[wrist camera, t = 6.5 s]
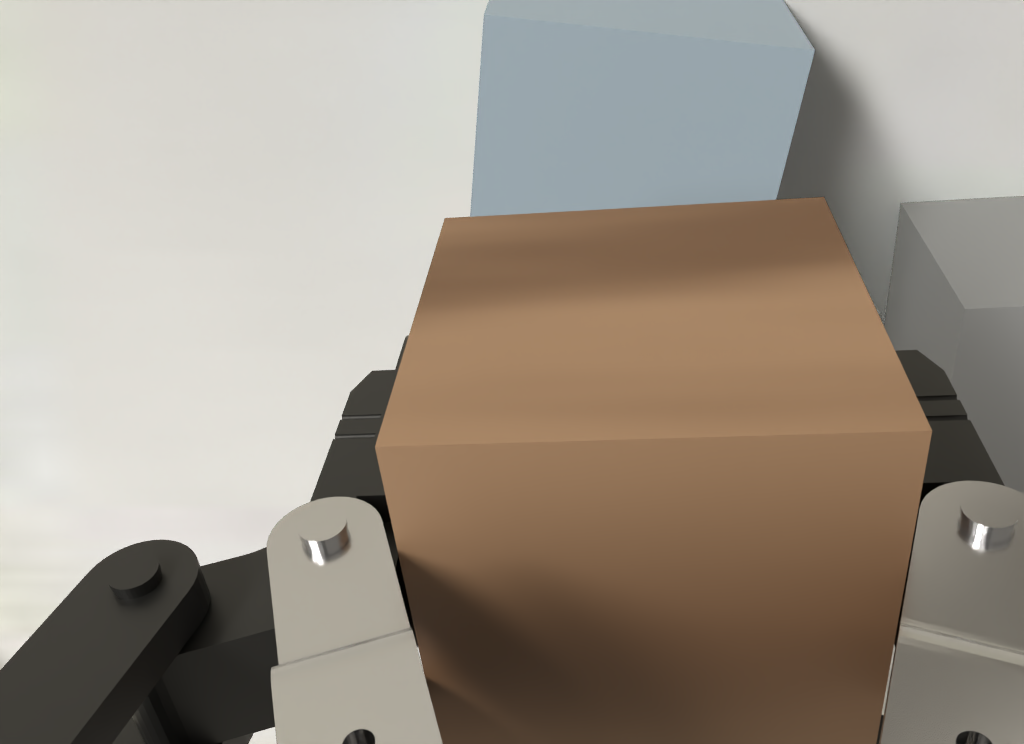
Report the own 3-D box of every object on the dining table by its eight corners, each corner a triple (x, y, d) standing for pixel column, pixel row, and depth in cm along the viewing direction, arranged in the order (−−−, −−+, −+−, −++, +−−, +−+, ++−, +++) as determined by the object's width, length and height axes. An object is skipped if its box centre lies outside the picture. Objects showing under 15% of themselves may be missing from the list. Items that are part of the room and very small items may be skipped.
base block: (501, -35, 21) (484, 14, 18) (780, -5, 21) (815, 49, 18) (482, 219, 24) (464, 300, 21) (722, 246, 24) (741, 331, 21)
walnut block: (444, 218, 13) (375, 446, 9) (823, 197, 13) (933, 430, 9) (485, 497, 16) (445, 770, 12) (797, 490, 15) (871, 774, 11)
